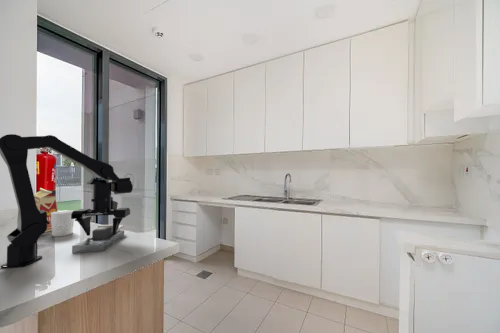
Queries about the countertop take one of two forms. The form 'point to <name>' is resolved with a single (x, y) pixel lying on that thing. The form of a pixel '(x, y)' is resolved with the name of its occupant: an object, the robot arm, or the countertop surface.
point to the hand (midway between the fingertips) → (101, 234)
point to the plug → (101, 233)
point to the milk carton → (46, 204)
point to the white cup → (62, 223)
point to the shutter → (112, 227)
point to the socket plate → (97, 243)
